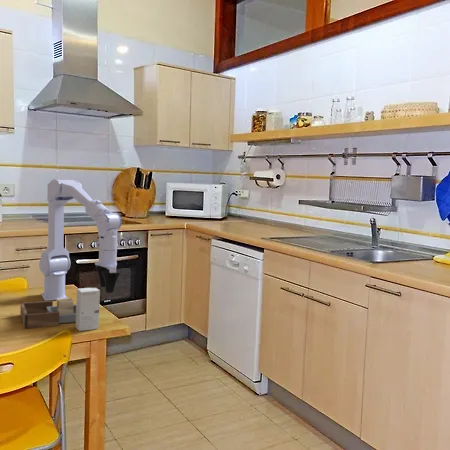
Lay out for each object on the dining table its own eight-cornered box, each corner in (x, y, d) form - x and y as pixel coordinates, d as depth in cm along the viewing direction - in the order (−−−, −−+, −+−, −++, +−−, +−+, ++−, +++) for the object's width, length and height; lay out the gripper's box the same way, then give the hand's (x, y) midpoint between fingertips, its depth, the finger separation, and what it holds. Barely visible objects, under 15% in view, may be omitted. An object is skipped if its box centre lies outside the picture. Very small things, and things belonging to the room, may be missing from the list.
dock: (20, 314, 157) (20, 302, 156) (51, 312, 161) (52, 300, 161) (25, 328, 144) (25, 315, 144) (58, 325, 149) (59, 312, 149)
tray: (45, 312, 160) (46, 299, 159) (88, 309, 167) (89, 296, 166) (51, 325, 149) (52, 311, 148) (97, 320, 155) (98, 307, 155)
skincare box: (79, 331, 145) (80, 292, 143) (74, 327, 148) (75, 288, 147) (99, 328, 148) (100, 290, 147) (94, 324, 152) (95, 286, 150)
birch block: (56, 313, 157) (56, 298, 157) (70, 312, 159) (70, 297, 159) (58, 317, 154) (59, 302, 153) (73, 316, 156) (73, 301, 155)
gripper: (90, 246, 165) (89, 285, 166) (101, 253, 152) (99, 295, 154) (111, 245, 168) (110, 283, 170) (123, 253, 155) (121, 294, 157)
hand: (106, 289), depth 162 cm, fingers open, 7 cm apart
